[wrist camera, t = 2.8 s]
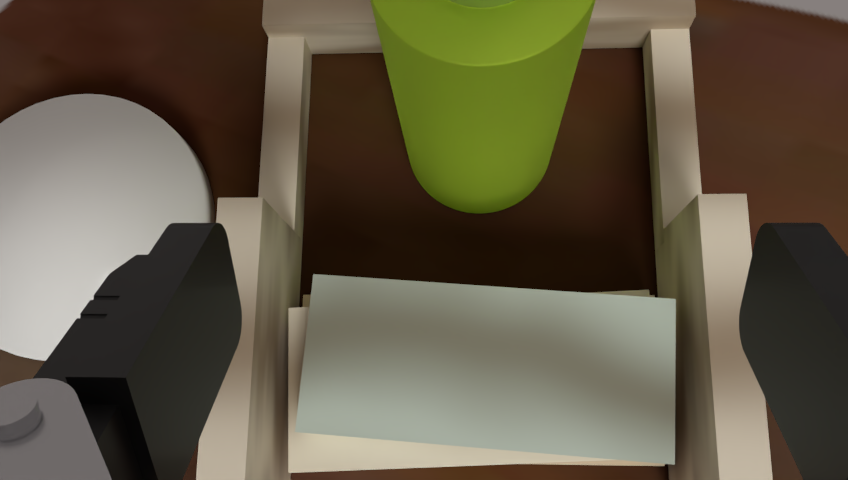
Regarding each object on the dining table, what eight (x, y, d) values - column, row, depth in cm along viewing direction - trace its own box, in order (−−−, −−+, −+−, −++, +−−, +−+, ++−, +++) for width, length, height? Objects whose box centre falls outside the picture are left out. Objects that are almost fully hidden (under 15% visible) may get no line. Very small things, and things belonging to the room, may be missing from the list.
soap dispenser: (381, 214, 31) (224, -140, 12) (432, 64, 32) (370, -477, 13) (521, 255, 30) (607, -49, 11) (567, 100, 32) (717, -418, 12)
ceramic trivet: (85, 420, 30) (69, 420, 29) (-98, 251, 32) (-119, 245, 31) (269, 205, 31) (261, 197, 30) (84, 58, 33) (69, 45, 32)
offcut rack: (712, 507, 27) (777, 530, 22) (250, 499, 29) (192, 518, 23) (676, 14, 32) (721, -77, 26) (279, 23, 33) (238, -63, 27)
